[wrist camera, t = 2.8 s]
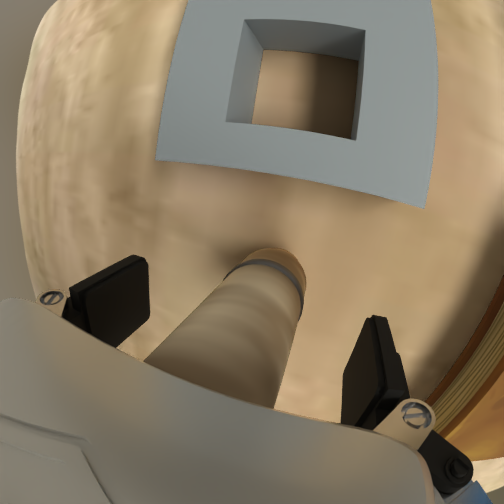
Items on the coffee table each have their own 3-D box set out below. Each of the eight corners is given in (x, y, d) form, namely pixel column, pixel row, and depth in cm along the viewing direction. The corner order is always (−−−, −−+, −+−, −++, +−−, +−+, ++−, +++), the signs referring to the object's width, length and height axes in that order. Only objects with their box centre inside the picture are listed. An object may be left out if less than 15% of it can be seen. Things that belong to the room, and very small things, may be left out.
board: (401, 200, 14) (424, 208, 10) (191, 161, 16) (155, 160, 13) (404, -39, 7) (411, -68, 4) (239, -54, 10) (222, -81, 6)
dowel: (317, 294, 17) (284, 470, 5) (257, 308, 18) (168, 458, 7) (297, 231, 16) (219, 363, 5) (234, 251, 17) (98, 367, 6)
